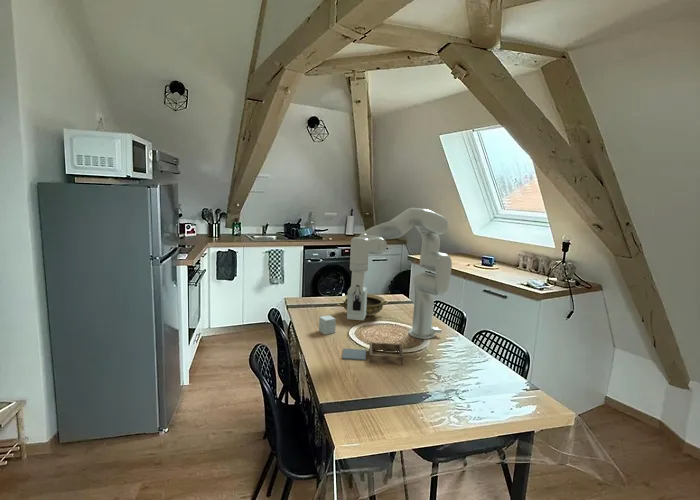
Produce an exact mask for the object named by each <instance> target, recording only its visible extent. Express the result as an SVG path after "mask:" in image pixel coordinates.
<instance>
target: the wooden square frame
mask: <svg viewBox="0 0 700 500" xmlns="http://www.w3.org/2000/svg"><path fill="white" fill-rule="evenodd" d="M374 350H375V351H374ZM376 350H383V351H382V352H386V351H397V352H396V353H398V355H393V354H392V355H390V354H377V353H375V354H374V353H373V352H377V351H376ZM398 351H399V352H398ZM368 352H369V354H368V356H369V358H368V359H369V364H381V365H395V366H396V365H397V366H404V360H405V357H404V351H403V346H402V344H401V343H389V342H376V341H375V342H373V341H372V342H371V341H369V350H368Z"/></svg>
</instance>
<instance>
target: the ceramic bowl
mask: <svg viewBox="0 0 700 500" xmlns="http://www.w3.org/2000/svg"><path fill="white" fill-rule="evenodd" d="M347 299H348V294H345V295H342V296H341V301H342V302H343V303H342V302H341V303H340V302H338V303H336V306H338V307H342V308H344V309H345V311H347ZM388 304H389V301H388V300H386V299H385V298H384V297H382V296H379V295H375V294H370V293H367V304H366V316H365V318H364V319H368V318H370V317H371V316H372V315H376V314H377V313H380V312H381V311H382V309H383V308H384V307H383V306H385V305H388Z"/></svg>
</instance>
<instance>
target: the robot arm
mask: <svg viewBox="0 0 700 500" xmlns="http://www.w3.org/2000/svg"><path fill="white" fill-rule="evenodd" d="M413 228H416V230H417V231H418V232H419V234H420V236H421V249H420V257H419V266H420V267H421V268H422V269H423V270H427V271H431V272H434V273H431V272H425V271H421V272H418V273H417V274H415V276H414V278H413V290H414V301H413V302H414V303H413V314H412V315H413V316H412V317H413V318H412V328H411V329H409V330H408V334H409V336H411V337H413V338H415V339H423V340H428V339H433V338H434V337H435V333H437V334H442V329H441V328H438V327H434V326H433V317H434V305H435V300H434V296H437V297H444V296H445V295H446V293H448V290H449V286H450V280H451V275H452V267H453V263H452V258H451V256H450V255H448V254H447V253H444V252H440V246H441V239H440V235H443V234H446V232H447V231H448V228H449V222H448V219H447V218H446V217H445V216H443V215H441V214H438V213H437V212H434V211H433V210H430V209H428V208H427V209H426V208H419V207H418V208H417V207H409V208H406V209H405V210H404V211H403V212H401V213H400V214H398V215H396V216H395V217H393V218H392V219H390V220H389V221H385V222H383V223H379V224H377V225H374V226H371V227H369V228H367V229H366V230H365V231H363V232H362V233H361V234H359V236H354V237H351V239H350V252H349V253H350V258H349V271H351V279H350V281H351V282H350V287H351V295H352V294H354V301H353V310H354V311H360V310H361V301H360V299H361V295H362V293H363V287H365V276H366V275H365V273H367V272H368V270H369V256H370V255H377V256H378V255H381V254H384V253H385V252H386V251H387V247H388V243H387V241H386V240H392V239H393V240H394V239H398V238H401V237H403V236H404V235H405V234H407V233H408V232H409V231H411V230H412V229H413ZM355 291H356V294H355ZM359 291H360V294H359Z"/></svg>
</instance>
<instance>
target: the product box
mask: <svg viewBox="0 0 700 500" xmlns="http://www.w3.org/2000/svg"><path fill="white" fill-rule="evenodd" d="M318 320H319V321H318V332H319V333H321V334H323V335H325V336H326V335H329V334H334V333H336V318H335V317H333V316H331V315H323V316H319V319H318Z"/></svg>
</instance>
